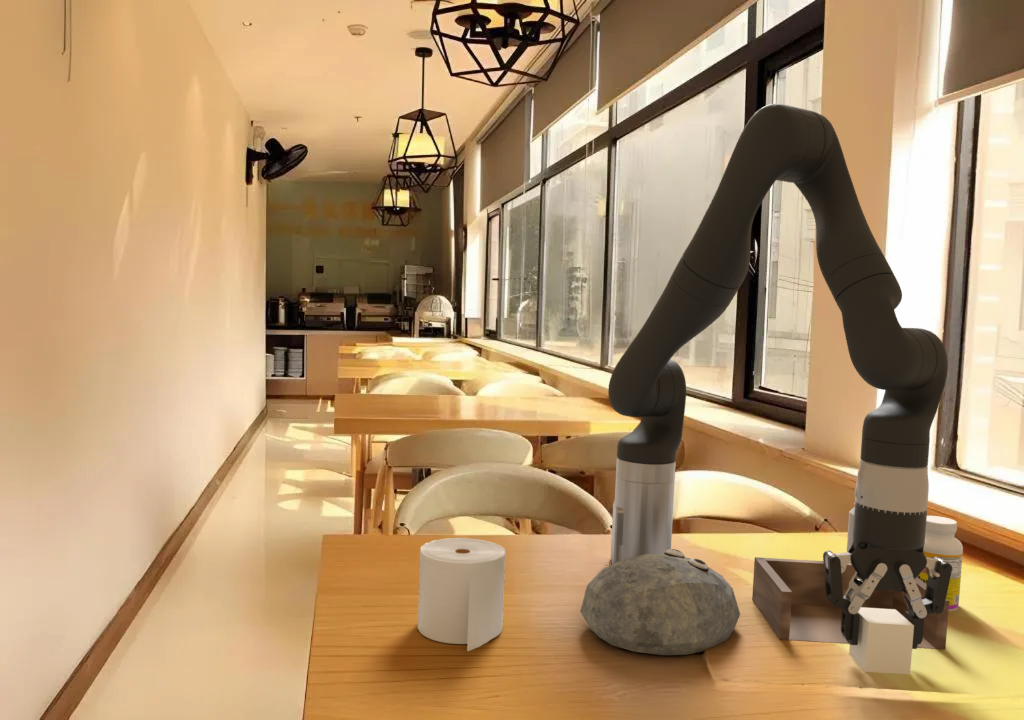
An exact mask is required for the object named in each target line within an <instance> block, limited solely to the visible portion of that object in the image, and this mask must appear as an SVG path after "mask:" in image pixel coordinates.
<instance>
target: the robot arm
mask: <svg viewBox="0 0 1024 720" xmlns="http://www.w3.org/2000/svg"><path fill="white" fill-rule="evenodd" d="M850 174H851V173H850V171H849V168H848V165H847V162H846V159H845V155H844V152H843V149H842V146H841V142H840V140H839V137H838V135H837V133H836V129H835V128H834V126H833V124H832V123H831V121H830V120H829V119H828V118H827V117H826V116H824V115H822V114H820V113H818V112H816V111H813V110H808V109H805V108H800V107H797V106H792V105H788V104H781V103H770V104H767V105H765V106H763V107H761V108H759V109H758V110H757V111H756V112H754V114H753V115H752V116H751V117H750V118H749V120H748V121H747V123H746V124H745V126H744V128H743V129H742V132H741V133H740V135H739V137H738V139H737V142H736V144H735V146H734V149H733V152H732V153H731V155H730V158H729V160H728V163H727V165H726V168H725V170H724V173H723V175H722V177H721V180H720V181H719V184H718V187H717V189H716V191H715V193H714V195H713V196H712V197H713V198H712V199H711V201H710V204H708V205H709V206H708V208H707V210H705V214H704V215H703V217H702V219H701V221H700V223H699V225H698V227H697V229H696V230H695V233H694V235H693V237H692V238H691V240H690V241H689V243H688V245H687V247H686V248H685V250H684V251H683V253H682V256H681V257H680V259H679V261H678V263H677V265H675V266H676V267H675V268H674V269H673V272H672V274H671V276H670V278H669V280H668V282H667V283H666V286H665V288H664V290H663V291H662V293H661V295H660V297H659V298H658V300H657V302H656V304H655V305H654V307H653V309H652V310H651V312H650V314H649V316H648V317H647V319H646V320H645V323H644V324H643V325H642V327H641V328H640V330H639V332H638V333H637V334H636V336H635V337H634V338H633V340H632V342H630V345H628V347H627V348H626V350H625V351H624V353H623V355H622V356H621V357H620V359H619V360H618V362H617V363H616V365H615V367H614V369H613V371H612V373H611V376H610V379H609V382H608V392H607V393H608V394H607V395H608V401H609V403H610V406H611V407H612V409H613V410H614V411H615V412H616V413H617V414H619V415H621V416H625V417H630V418H631V417H632V418H640V422H639V424H638V425H637V427H636V428H635V429H634V430H633V431H632V432H630V433H628V434H627V435H625V436H623V437H622V438H620V439H619V441H618V443H617V447H616V467H615V468H616V469H615V488H614V489H615V490H614V491H615V492H614V501H613V502H612V503H613V504H612V521H611V522H612V524H611V525H612V526H611V527H612V528H611V540H610V541H611V542H610V546H611V547H610V562H611V565H612V564H614V563H616V562H619V561H621V560H624V559H628V558H632V557H636V556H640V555H645V554H664V553H665V551H666V550H668V549H672V540H673V539H672V536H673V518H674V517H673V516H674V503H675V502H674V499H675V498H674V497H675V483H676V482H675V481H676V463H677V462H676V461H677V452H678V450H679V447H680V445H681V443H682V438H683V430H684V429H683V428H684V420H685V411H686V402H687V382H686V376H685V373H684V370H683V369H682V367H681V366H680V364H679V363H678V362H677V361H675V360H673V359H672V358H673V356H674V355H676V353H677V352H678V351H679V350H680V349H681V348H682V347H683V346H685V345H686V344H687V343H689V342H691V340H694V338H695V337H696V336H698V335H699V334H701V332H703V331H704V330H706V329H707V328H708V327H709V326H711V325H712V324H713V323H715V322H716V321H717V320H718V319H719V318H720V317H721V316H722V315H723V314H724V313H725V311H726V310H727V309H728V307H729V306H730V304H731V303H732V300H734V297H735V296H736V294H737V293H738V291H739V289H740V288H741V286H742V285H743V282H744V280H745V278H746V276H747V274H748V272H749V268H750V263H751V262H750V261H751V248H752V247H751V244H752V243H751V242H752V240H751V239H752V238H751V237H752V236H751V235H752V226H753V222H754V218H755V216H756V214H757V212H758V210H759V208H760V207H761V204H762V202H763V200H764V199H765V196H766V195H767V194H768V192H769V190H770V189H771V187H772V186H773V185H774V183H775V182H776V181H779V182H786V183H792V184H794V185H795V186H796V187H797V189H798V190H799V192H800V193H801V194H802V196H803V197H804V198H805V200H806V201H807V203H808V205H809V207H810V209H811V212H812V214H813V217H814V221H815V231H816V233H815V235H816V236H815V244H816V245H815V246H816V247H815V248H816V249H815V250H816V258H817V263H818V265H819V270H820V272H821V275H822V277H823V279H824V281H825V283H826V284H827V287H828V289H829V291H830V293H831V295H832V297H833V299H834V301H835V303H836V305H837V307H838V308H839V310H840V312H841V317H842V318H841V319H842V325H843V331H844V336H845V341H846V345H847V351H848V354H849V357H850V360H851V363H852V365H853V367H854V369H855V370H856V372H857V374H858V375H859V377H861V379H862V380H863V381H864V382H866V384H868V385H869V386H870V387H871V386H872V387H873V388H875V389H878V390H884V395H883V398H882V401H881V404H880V405H879V407H877V408H875V409H874V410H871V411H870V412H869V413H867V414H866V416H865V417H864V420H863V423H862V429H861V430H862V431H861V445H860V446H861V447H860V459H859V466H858V469H857V470H858V471H857V475H856V484H855V489H854V498H855V499H854V503H855V504H854V507H855V511H854V526H853V544H852V546H851V548H850V549H849V551H848V552H847V551H846V552H837V553H836V552H835V553H834V552H833V551H831V550H825V551H824V552H823V554H822V559H823V560H822V561H823V562H824V576H825V591H826V598H827V599H828V600H829V601H830V602H831V603H832V604H833V605H834V606H835V607H836V608H841V609H842V618H841V633H842V635H843V636H844V637H845V639H846V640H847V642H848V643H849V644H848V645H849V646H850V645H858V636H859V621H860V615H859V614H858V611H859V610H860V608H861V606H862V605H863V603H864V601H865V600H866V599H868V598H869V597H870V596H871V594H872V592H873V591H874V590H879V591H882V590H887V589H889V590H892V591H897V592H901V594H902V595H903V598H904V600H905V602H906V605H907V607H908V612H905V618H906V619H907V620H908V621H909V622H910V623H912V624H913V625H914V632H913V644H912V650H917V649H918V648H917V646H918V644H921V642H922V640H923V627H924V618H925V617H926V616H927V615H928V614H932V613H936V614H940V613H942V612H943V610H944V605H945V600H946V596H947V591H948V586H949V582H950V577H951V572H952V566H951V564H949V563H948V562H947V561H945V560H943V559H941V558H940V557H934V558H928V557H926V556H925V554H924V551H923V548H924V544H925V533H926V519H927V516H928V502H929V492H930V491H929V490H930V489H929V486H930V485H929V483H930V482H929V473H928V472H929V471H928V469H929V468H928V466H929V452H930V438H931V435H930V433H931V427H932V425H933V422H934V420H935V417H936V415H937V412H938V409H939V405H940V402H941V398H942V397H943V396H942V395H943V392H944V390H945V385H946V383H947V377H948V369H949V360H948V354H947V349H946V348H945V345H944V343H943V341H942V340H941V339H940V337H938V335H936V334H935V332H932V331H930V330H927V329H924V328H919V327H918V328H917V327H902V326H901V324H900V322H899V320H898V318H897V315H896V311H895V309H896V308H897V307H898V306H899V305H900V303H901V302H902V299H903V291H902V288H901V286H900V284H899V281H898V279H897V278H896V276H895V273H894V272H893V270H892V268H891V266H890V264H889V263H888V260H887V258H886V257H885V255H884V253H883V251H882V249H881V248H880V245H879V244H878V242H877V240H876V238H875V236H874V234H873V232H872V230H871V227H870V226H869V223H868V222H867V219H866V216H865V214H864V212H863V209H862V207H861V204H860V201H859V198H858V195H857V192H856V189H855V186H854V183H853V180H852V177H851V175H850ZM848 563H851V564H852V566H853V567H854V569H855V570H856V572H855V574H854V576H853V577H852V579H851V581H850V582H849V588H848V590H847V591H846V593H845V595H844V596H843V589H842V574H841V573H843V572H844V571H845V570H846V566H847V564H848ZM925 567H926V573H927V574H928V575H929V576H928V581H927V586H926V590H925V595H924V599H923V600H922V599H921V598H922V596H921V594H920V591H919V589H918V587H917V584H916V582H915V579H916V577H917V576H918V575H919V574H920V573H921V572H922V570H923V569H924V568H925Z"/></svg>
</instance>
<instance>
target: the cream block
mask: <svg viewBox="0 0 1024 720" xmlns="http://www.w3.org/2000/svg"><path fill="white" fill-rule="evenodd" d="M858 614H859V615H860V621H859V636H858V645H850V644H849V650H848V651H849V652H848V654H849V655H850V656H851V658H853V660H854V661H855V662H856V663H857V664H858V665H859V667H860V668H861V669H862V670H863V671H864V672H866V673H880V674H896V675H897V674H899V675H911V666H912V657H913V656H912V655H913V649H912V644H913V632H914V625H913V624H912V623H910V622H909V621H908V620H907V619H906V618H905V617H904V616H902V615H901V614H900V613H899V612H898V611H897V610H896V609H880V608H865V607H861V608H860V610H859V611H858Z"/></svg>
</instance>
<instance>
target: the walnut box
mask: <svg viewBox="0 0 1024 720" xmlns="http://www.w3.org/2000/svg"><path fill="white" fill-rule="evenodd" d="M753 563H754V564H753V579H752V581H753V582H752V599H751V600H752V602H753V603H754V604H755V605H756V608H757V609H758V610H759V612H760V613H761V616H763V618H764V619H765V621H766V622H767V624H768V625H769V627H770V628H771V630H772V631H773V633H774V634H775V635H776V637H777V639H778V640H779V641H781V640H783V641H798V642H799V641H800V642H813V643H830V644H831V643H833V644H848V645H850V644H849V643H848V642H847V640H846V639H845V637H844V636H843V635H842V633H841V618H842V609H841V608H836V607H835V606H834V605H833V604H832V603H831V602H830V601H829V600H828V599H827V598H826V591H825V576H824V562H823V560H811V559H795V558H794V559H792V558H776V557H773V558H772V557H756V556H755V557H754V562H753ZM855 572H856V570H855V569H854V567H853V566H852V564H851V563H848V564H847V566H846V570H845V571H844V572H843V573H841V574H842V589H843V596H844V595H845V593H846V591H847V590H848V588H849V582H850V581H851V579H852V577H853V576H854V574H855ZM915 582H916V584H917V587H918V589H919V591H920V594H921V596H922V598H921V599H922V600H923V599H924V595H925V590H926V586H927V584H925V583H924V582H923V581H921V580H920V579H919V578H917V577H916V579H915ZM861 607H865V608H880V609H896V610H897V611H898V612H899V613H900V614H901V615H902V616H904V617H905V612H908V607H907V605H906V602H905V600H904V598H903V595H902V594H901V592H897V591H892V590H889V589H887V590H882V591H879V590H874V591H873V592H872V594H871V596H870V597H869V598H868V599H866V600H865V601H864V603H863V605H862V606H861ZM948 609H949V601H948V600H947V599H946V600H945V605H944V610H943V612H942V613H940V614H936V613H932V614H928V615H927V616H926V617H925V618H924V627H923V640H922V642H921V644H918V646H917V649H931V650H946V648H947V647H946V646H947V636H948V635H947V634H948V623H949V622H948V620H949V611H948Z"/></svg>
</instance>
